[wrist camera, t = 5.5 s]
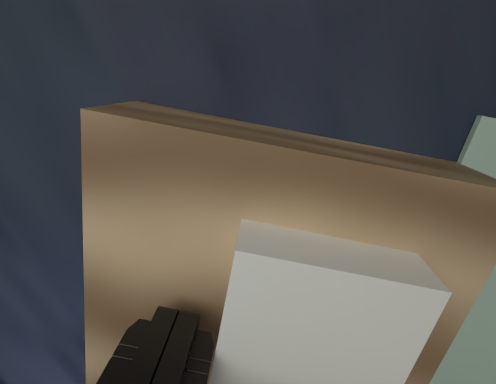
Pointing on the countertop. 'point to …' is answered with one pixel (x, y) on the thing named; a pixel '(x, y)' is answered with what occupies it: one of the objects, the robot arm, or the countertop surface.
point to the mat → (492, 294)
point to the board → (257, 215)
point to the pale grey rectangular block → (323, 310)
